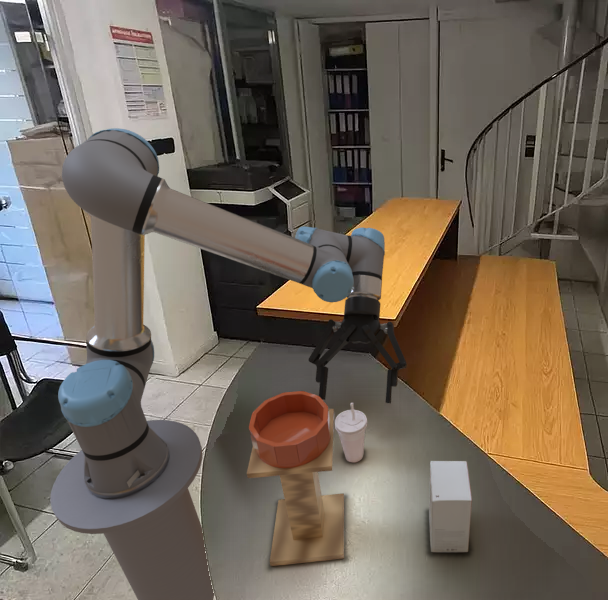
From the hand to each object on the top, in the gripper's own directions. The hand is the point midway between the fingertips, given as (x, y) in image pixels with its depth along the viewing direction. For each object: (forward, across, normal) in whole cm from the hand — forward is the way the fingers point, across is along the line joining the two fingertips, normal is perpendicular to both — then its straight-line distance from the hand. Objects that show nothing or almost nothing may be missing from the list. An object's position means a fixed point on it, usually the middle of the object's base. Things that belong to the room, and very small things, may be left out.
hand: (354, 401), depth 97 cm
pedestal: (+23, +5, +7) cm, 24 cm away
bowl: (+7, +5, +23) cm, 25 cm away
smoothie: (+11, 0, -5) cm, 12 cm away
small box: (+22, -19, +6) cm, 30 cm away
